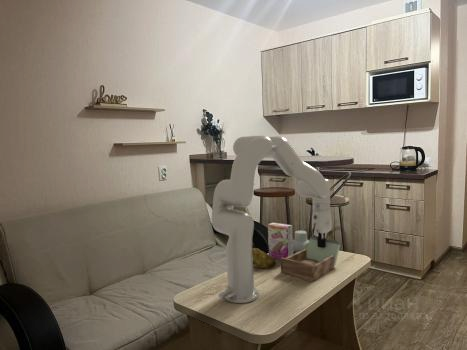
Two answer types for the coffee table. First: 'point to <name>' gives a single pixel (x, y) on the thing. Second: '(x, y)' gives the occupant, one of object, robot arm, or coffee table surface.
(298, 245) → the air freshener
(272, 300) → the coffee table surface
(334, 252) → the panel
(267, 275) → the coffee table surface
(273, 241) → the candy bar box
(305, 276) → the brown wooden tray
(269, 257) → the potato
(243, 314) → the coffee table surface
